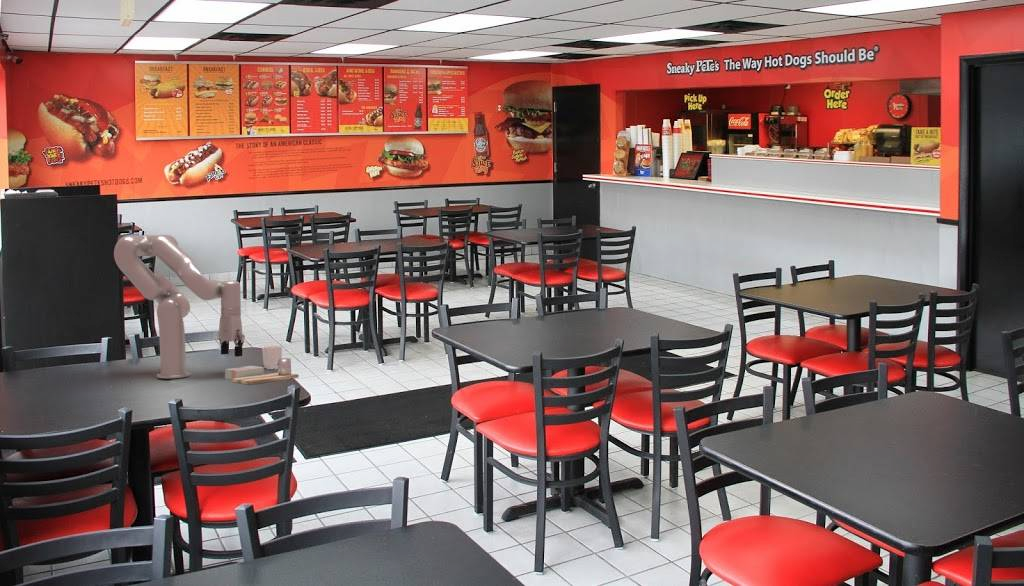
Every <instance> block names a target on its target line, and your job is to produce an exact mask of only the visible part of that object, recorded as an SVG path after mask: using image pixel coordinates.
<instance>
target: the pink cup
mask: <svg viewBox="0 0 1024 586" xmlns="http://www.w3.org/2000/svg"><path fill="white" fill-rule="evenodd" d="M261 348H262V349H261V350H262V352H261V353H262V360H263V361H262V362H263V367H264V368H267V369H274V368H275V369H274V370H278V365H277V364H278V359H282V358H283V346H282V345H267V346H266V345H265V346H262V347H261ZM267 369H266V370H267Z"/></svg>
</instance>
